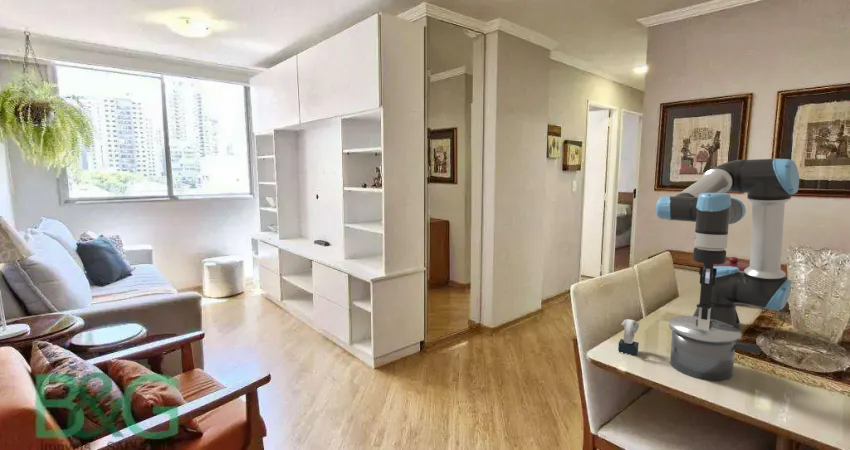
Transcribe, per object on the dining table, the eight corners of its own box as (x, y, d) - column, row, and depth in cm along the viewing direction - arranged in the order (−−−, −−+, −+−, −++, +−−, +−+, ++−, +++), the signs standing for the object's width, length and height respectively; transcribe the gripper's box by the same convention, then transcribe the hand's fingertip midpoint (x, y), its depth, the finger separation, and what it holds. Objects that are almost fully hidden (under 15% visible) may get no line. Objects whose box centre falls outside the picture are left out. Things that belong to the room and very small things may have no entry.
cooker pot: (672, 350, 137) (675, 316, 136) (754, 368, 125) (757, 330, 123) (667, 371, 123) (670, 333, 122) (758, 393, 111) (762, 351, 109)
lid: (671, 316, 136) (672, 307, 136) (739, 328, 126) (740, 318, 125) (666, 333, 122) (666, 324, 121) (741, 348, 111) (742, 338, 111)
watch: (638, 349, 139) (640, 318, 137) (635, 358, 132) (637, 325, 131) (621, 345, 142) (622, 315, 141) (616, 353, 135) (618, 322, 134)
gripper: (694, 243, 121) (689, 319, 124) (692, 250, 110) (686, 333, 113) (726, 245, 116) (719, 324, 119) (726, 253, 106) (719, 339, 109)
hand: (703, 328), depth 116 cm, fingers closed
